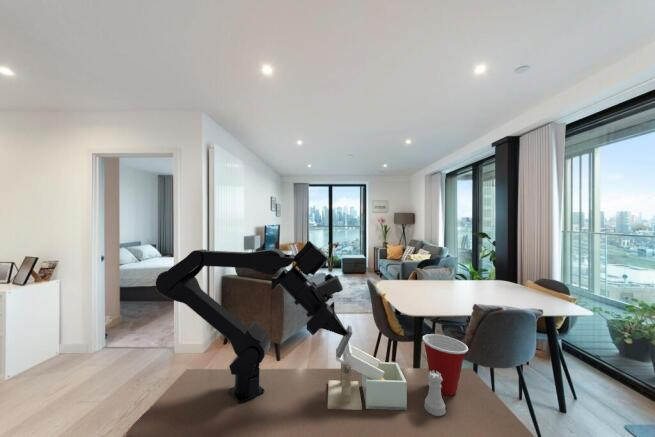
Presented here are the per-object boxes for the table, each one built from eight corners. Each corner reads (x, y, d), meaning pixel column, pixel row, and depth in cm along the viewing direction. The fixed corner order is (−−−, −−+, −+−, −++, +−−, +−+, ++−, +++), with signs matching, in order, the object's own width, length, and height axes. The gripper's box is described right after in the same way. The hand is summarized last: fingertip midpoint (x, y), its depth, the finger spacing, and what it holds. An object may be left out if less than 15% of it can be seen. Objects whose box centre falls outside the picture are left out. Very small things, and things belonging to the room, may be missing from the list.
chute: (336, 360, 62) (349, 332, 62) (336, 349, 68) (348, 324, 68) (379, 383, 62) (392, 355, 62) (375, 369, 67) (387, 344, 68)
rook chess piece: (436, 419, 57) (436, 380, 57) (419, 407, 61) (419, 371, 61) (450, 413, 59) (450, 376, 59) (433, 402, 63) (433, 366, 63)
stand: (327, 409, 59) (328, 367, 60) (328, 383, 70) (329, 347, 70) (361, 410, 59) (362, 368, 60) (357, 384, 69) (358, 348, 70)
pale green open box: (366, 408, 60) (366, 380, 60) (361, 385, 69) (362, 361, 69) (406, 410, 60) (406, 382, 60) (397, 386, 69) (397, 362, 69)
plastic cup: (475, 405, 62) (474, 352, 62) (425, 398, 64) (425, 347, 64) (461, 380, 72) (461, 335, 73) (419, 375, 74) (419, 331, 75)
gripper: (321, 270, 57) (374, 323, 56) (324, 261, 76) (364, 300, 75) (284, 308, 57) (337, 361, 56) (296, 289, 75) (336, 329, 74)
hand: (345, 334), depth 65 cm, fingers closed, pressing on chute
